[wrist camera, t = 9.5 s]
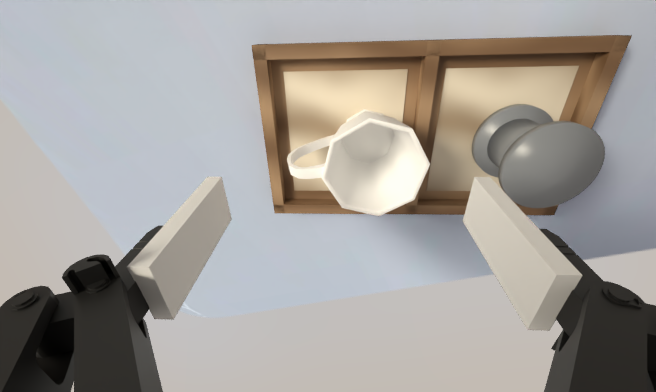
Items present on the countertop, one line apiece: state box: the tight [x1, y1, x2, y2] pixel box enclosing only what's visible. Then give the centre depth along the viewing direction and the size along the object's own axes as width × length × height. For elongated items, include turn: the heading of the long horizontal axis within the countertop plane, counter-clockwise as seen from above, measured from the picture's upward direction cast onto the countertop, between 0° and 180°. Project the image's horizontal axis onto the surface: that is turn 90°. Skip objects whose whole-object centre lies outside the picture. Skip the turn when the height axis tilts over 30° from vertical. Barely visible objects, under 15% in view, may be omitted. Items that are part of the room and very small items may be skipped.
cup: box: [287, 109, 430, 216], centre depth 22 cm, size 7×10×8 cm
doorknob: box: [472, 104, 605, 208], centre depth 23 cm, size 6×6×6 cm
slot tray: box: [252, 35, 631, 215], centre depth 25 cm, size 15×27×2 cm, turn 91°
